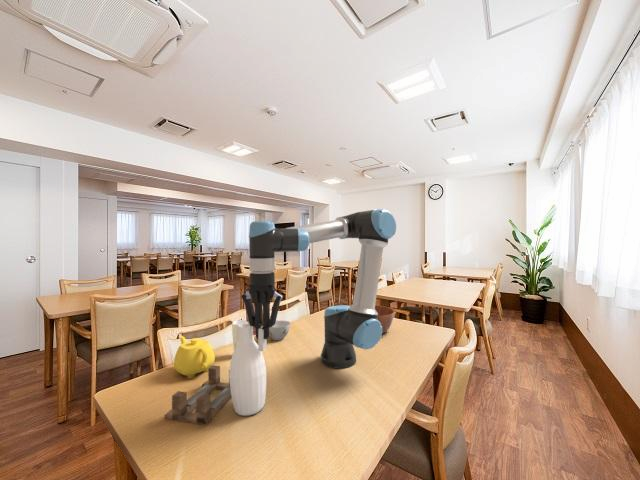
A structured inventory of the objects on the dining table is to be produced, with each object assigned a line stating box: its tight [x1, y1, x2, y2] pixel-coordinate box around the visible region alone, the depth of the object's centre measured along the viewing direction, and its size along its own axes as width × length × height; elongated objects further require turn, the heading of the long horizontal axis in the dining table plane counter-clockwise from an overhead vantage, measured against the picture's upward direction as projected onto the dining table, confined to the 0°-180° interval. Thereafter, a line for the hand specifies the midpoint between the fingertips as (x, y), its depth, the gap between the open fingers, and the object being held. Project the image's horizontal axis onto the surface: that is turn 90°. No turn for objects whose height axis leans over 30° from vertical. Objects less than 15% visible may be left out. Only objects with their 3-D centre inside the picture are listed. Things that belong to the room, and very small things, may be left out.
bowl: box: [375, 304, 395, 335], centre depth 154 cm, size 25×25×12 cm
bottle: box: [228, 322, 267, 417], centre depth 84 cm, size 11×11×25 cm
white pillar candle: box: [231, 319, 249, 351], centre depth 122 cm, size 7×7×15 cm
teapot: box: [173, 335, 216, 379], centre depth 108 cm, size 14×20×13 cm
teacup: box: [269, 320, 291, 341], centre depth 143 cm, size 15×12×8 cm
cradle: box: [164, 365, 232, 426], centre depth 87 cm, size 14×19×7 cm
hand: (262, 349), depth 82 cm, fingers closed
